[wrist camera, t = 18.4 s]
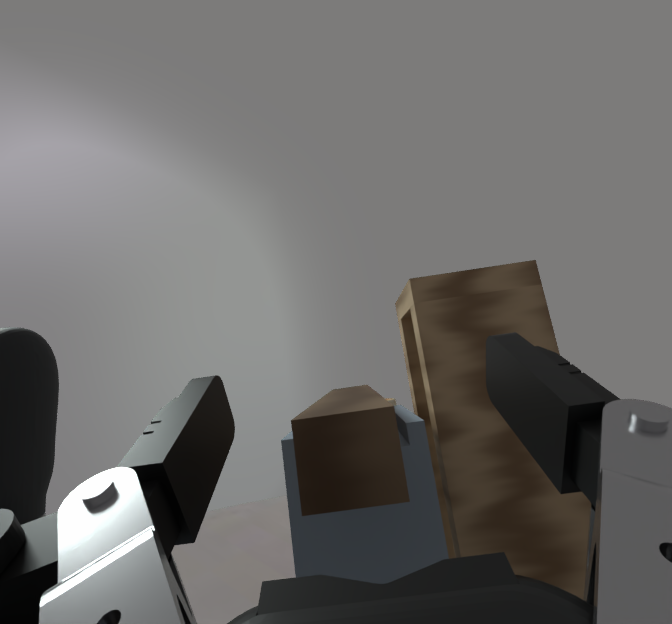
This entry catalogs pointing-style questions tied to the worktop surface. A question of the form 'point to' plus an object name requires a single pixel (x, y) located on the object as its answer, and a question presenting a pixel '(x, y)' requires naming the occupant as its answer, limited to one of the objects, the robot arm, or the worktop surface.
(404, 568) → the tall grey pillar
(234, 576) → the worktop surface
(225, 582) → the worktop surface
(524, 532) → the slotted wooden post
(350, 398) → the rail
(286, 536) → the worktop surface
